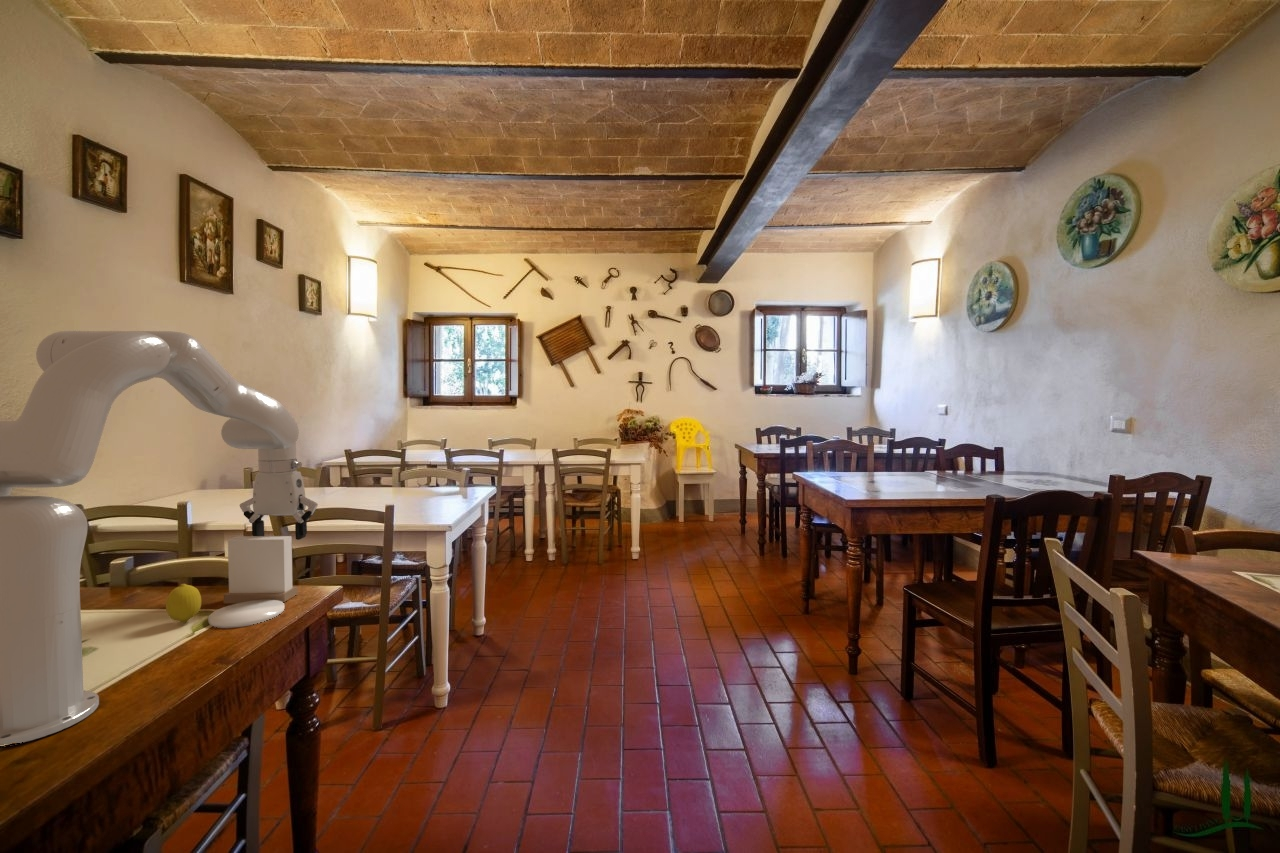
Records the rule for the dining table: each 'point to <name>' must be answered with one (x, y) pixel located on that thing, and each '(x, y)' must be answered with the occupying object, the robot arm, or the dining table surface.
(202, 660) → the dining table surface
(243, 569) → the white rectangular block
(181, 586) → the lemon
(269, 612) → the white round disc
